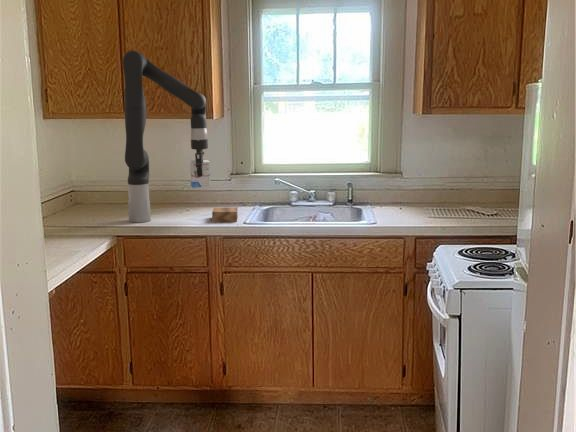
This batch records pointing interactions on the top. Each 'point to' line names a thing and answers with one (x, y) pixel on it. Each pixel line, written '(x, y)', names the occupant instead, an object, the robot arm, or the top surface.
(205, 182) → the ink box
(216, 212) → the walnut block
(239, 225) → the top surface
